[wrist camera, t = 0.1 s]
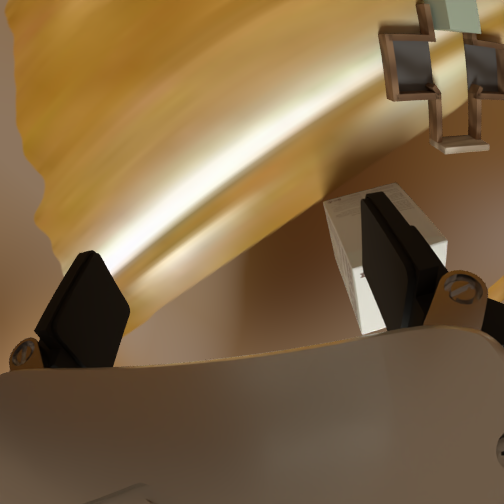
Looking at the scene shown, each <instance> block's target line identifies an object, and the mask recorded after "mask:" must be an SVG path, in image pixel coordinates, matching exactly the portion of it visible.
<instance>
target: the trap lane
mask: <svg viewBox="0 0 504 504" xmlns="http://www.w3.org/2000/svg"><path fill="white" fill-rule="evenodd" d="M416 9H417V14H418V19H419V25H420V31H421V35H417V34H378V37H379V43H380V49H381V55H382V62H383V69H384V77H385V85H386V93H387V99H389V100H391V101H394V102H395V101H410V100H428V105H429V130H430V144H431V145H432V146H434V147H435V148H437V149H438V150H440V151H441V152H443V153H444V154H452V153H462V152H473V151H485V150H489V144H488V143H486V142H484V141H483V140H481V99H491V100H504V44H499V43H494V42H488V41H481V40H477V37H476V33H464V32H463V39H464V48H465V57H466V68H467V83H468V110H469V130H468V135H463V136H450V137H449V136H448V137H442V103H441V92H440V91H439V89H438V87H437V86H436V85H435V84H433V80H432V69H431V60H430V52H429V44H428V41H429V42H436V39H435V33H434V26H433V20H432V15H431V9H430V4H418V5H416Z"/></svg>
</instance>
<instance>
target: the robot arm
mask: <svg viewBox="0 0 504 504" xmlns="http://www.w3.org/2000/svg"><path fill="white" fill-rule="evenodd" d="M360 205H361V230H362V267H363V272H364V275H365V277H366V280H367V282H368V284H369V287H370V289H371V291H372V294H373V296H374V299H375V301H376V303H377V306H378V308H379V311H380V313H381V316H382V318H383V321H384V323H385V326H386V328H387V331H386V332H381V333H375V334H370V335H364V336H359V337H354V338H350V339H344V340H339V341H334V342H329V343H323V344H316V345H311V346H305V347H299V348H294V349H288V350H281V351H275V352H269V353H261V354H254V355H247V356H240V357H239V356H238V357H230V358H222V359H213V360H205V361H194V362H183V363H171V364H158V365H145V366H126V367H113V365H114V361H115V358H116V355H117V352H118V348H119V345H120V342H121V339H122V336H123V333H124V330H125V327H126V324H127V321H128V318H129V315H130V308H129V305H128V303H127V301H126V300H125V298H124V296H123V295H122V293H121V291H120V290H119V288H118V286H117V284H116V283H115V281H114V279H113V277H112V276H111V274H110V272H109V270H108V269H107V267H106V265H105V263H104V261H103V260H102V258H101V256H100V255H99V254H98V253H96V252H95V251H93V250H91V251H87V252H83V253H79V254H78V256H77V257H76V259H75V260H74V262H73V263H72V265H71V267H70V268H69V270H68V272H67V273H66V275H65V276H64V278H63V280H62V281H61V283H60V285H59V287H58V289H57V290H56V292H55V294H54V295H53V297H52V299H51V300H50V303H49V304H48V306H47V308H46V310H45V311H44V313H43V315H42V317H41V319H40V321H39V323H38V324H37V326H36V328H35V330H34V331H35V333H36V334H37V335H38V336H39V337H40V340H39V342H38V341H37V340H36V339H34V338H27V339H24V340H23V341H21V342H20V343H19V344H18V345H17V346H16V347H15V348H14V349H13V351H12V353H11V355H10V358H9V365H10V371H9V372H6V373H3V374H1V375H0V504H504V304H502V303H500V302H497V301H495V300H492V299H489V298H488V289H487V287H486V284H485V283H484V282H483V280H482V279H481V278H480V277H478V276H477V275H475V274H473V273H471V272H468V271H463V270H454V271H451V272H448V271H447V269H446V268H445V266H444V265H443V263H442V262H441V261H440V259H439V258H438V256H437V255H436V254H435V252H434V251H433V249H432V248H431V247H430V245H429V244H428V243H427V241H426V240H425V239H424V237H423V236H422V235H421V233H420V232H419V231H418V229H417V228H416V227H415V226H413V225H409V223H408V222H407V221H406V220H405V218H404V217H403V216H402V214H401V213H400V212H399V211H398V209H397V208H396V207H395V206H394V204H393V203H392V202H391V201H390V199H389V198H388V197H387V196H386V194H385V193H384V192H383V191H381V192H374V193H368V194H366V196H365V199H361V202H360Z"/></svg>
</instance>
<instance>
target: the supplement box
mask: <svg viewBox="0 0 504 504" xmlns="http://www.w3.org/2000/svg"><path fill="white" fill-rule="evenodd" d="M381 191H383V192H384V193H385V194H386V196H387V197H388V198H389V199H390V201H391V202H392V203H393V204H394V206H395V207H396V208H397V209H398V211H399V212H400V213H401V214H402V216H403V217H404V218H405V220H406V221H407V222H408V223H409V225H413V226H415V227H416V228H417V229H418V231H419V232H420V233H421V235H422V236H423V237H424V239H425V240H426V241H427V243H428V244H429V245H430V247H431V248H432V249H433V251H434V252H435V254H436V255H437V256H438V258H439V259H440V261H441V262H442V263H443V265H444V266H445V264H446V254H447V243H448V240H447V239H446V238H445V237H444V236H443V234H441V232H440V231H439V230H438V229H437V228H436V226H435V225H434V224H433V223H432V222H431V220H430V219H429V218H428V217H427V216H426V215H425V214H424V212H423V211H422V210H421V209H420V208H419V207H418V206H417V205H416V204H415V202H414V201H413V200H412V199H411V198H410V197H409V196H408V195H407V193H406V192H405V191H404V190H403V189H402V188H401V187H400V186H399V185H398V184H397V183H391V184H387V185H384V186H380V187H376V188H372V189H368V190H364V191H360V192H357V193H353V194H349V195H345V196H342V197H338V198H334V199H330V200H327V201H324V202H323V204H324V208H325V213H326V217H327V221H328V226H329V230H330V235H331V240H332V244H333V249H334V254H335V258H336V261H337V264H338V267H339V270H340V272H341V275H342V278H343V281H344V284H345V286H346V289H347V292H348V295H349V298H350V301H351V304H352V307H353V309H354V312H355V315H356V318H357V321H358V325H359V327H360V330H361V333H362V335H363V334H366V333H369V332H373V331H376V330H379V329H382V328H386V326H385V323H384V321H383V318H382V316H381V313H380V311H379V308H378V306H377V303H376V301H375V299H374V296H373V294H372V291H371V289H370V287H369V284H368V282H367V280H366V277H365V275H364V272H363V267H362V230H361V205H360V202H361V199H365V196H366V194H368V193H374V192H381Z"/></svg>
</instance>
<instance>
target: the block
mask: <svg viewBox="0 0 504 504" xmlns="http://www.w3.org/2000/svg"><path fill="white" fill-rule="evenodd" d="M424 3H425V4H430V9H431V15H432V20H433V26H434V30H443V31H453V32H464V33H477V34H481V28H480V21H479V15H478V9H477V4H476V0H424Z"/></svg>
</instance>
